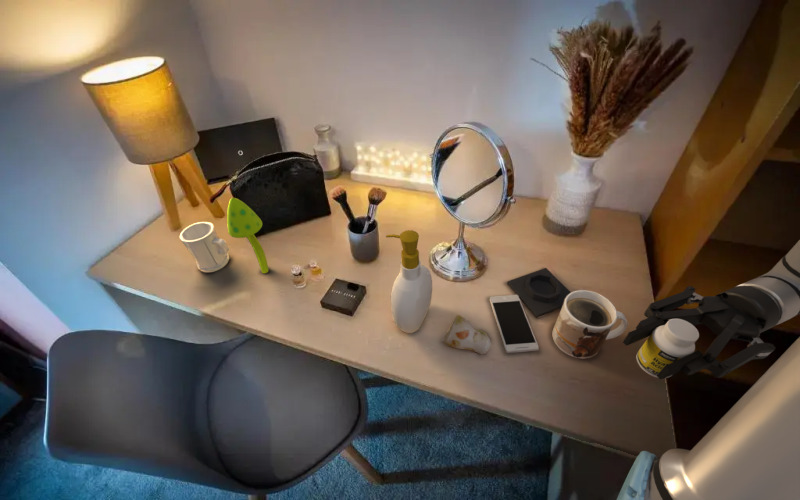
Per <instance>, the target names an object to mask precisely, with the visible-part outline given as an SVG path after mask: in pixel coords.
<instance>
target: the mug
mask: <svg viewBox="0 0 800 500" xmlns="http://www.w3.org/2000/svg"><path fill="white" fill-rule="evenodd" d="M559 310H560V311H559V313H558V316H557V318H556V320H555V323H554V326H553V328H552V332H551V335H552V339H553V342H554V344H555V346H557V348H558V349H559V350H560V351H561V352H563V353H564V354H566V355H568V356H570V357H573V358H576V359H589V358H593V357H594V356H596V355H597V354H598V352H599V351H600V350H601V347H602V346H603V344H604V343H605V341H606V340H612V339H615V338H616V337H619V336H621V335H622V334H623V333H624V332H626V330H627V329H628V325H629V322H628V319H627V317H626V315H625V314H624V312H622V311H619V310H617V309H616V307H615V305H614V304H613V302H611V300H609V299H608V298H607V297H606V296H604V295H602V294H600V293H598V292H596V291H593V290H585V289H578V290H573V291H572V292H571V293H570V294H569V295H567V297H566V298H565V301H564V303H563V305H562V308H561V309H559ZM618 319H619V320H621V323H620V324H619V325H618V326H617V327H615V328H613V327H614V325H615V324H616V322H617V321H618Z"/></svg>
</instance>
